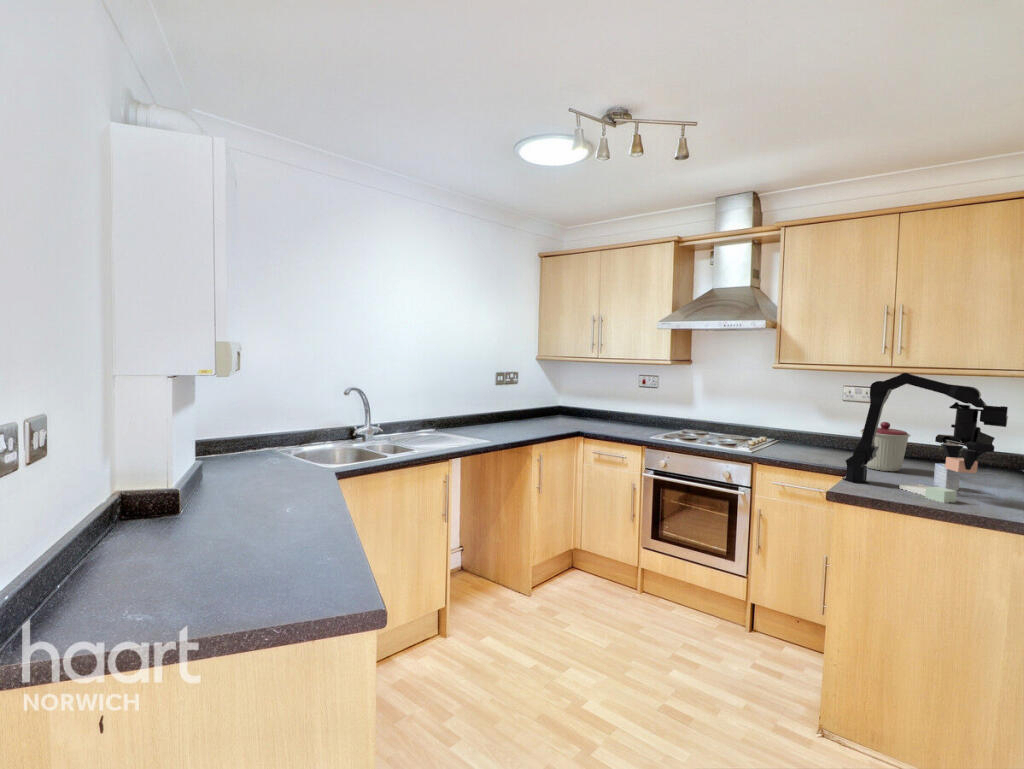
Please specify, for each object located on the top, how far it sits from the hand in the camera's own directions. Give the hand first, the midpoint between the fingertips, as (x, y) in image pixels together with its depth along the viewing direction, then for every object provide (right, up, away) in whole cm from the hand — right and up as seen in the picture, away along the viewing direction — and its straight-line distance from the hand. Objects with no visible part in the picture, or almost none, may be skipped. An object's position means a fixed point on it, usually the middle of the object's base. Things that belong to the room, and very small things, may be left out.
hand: (960, 467), depth 182 cm
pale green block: (-9, -11, -2) cm, 14 cm away
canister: (+8, -9, +50) cm, 51 cm away
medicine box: (+9, -11, +17) cm, 22 cm away
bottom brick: (0, -1, 0) cm, 1 cm away
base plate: (-6, -10, +9) cm, 15 cm away
